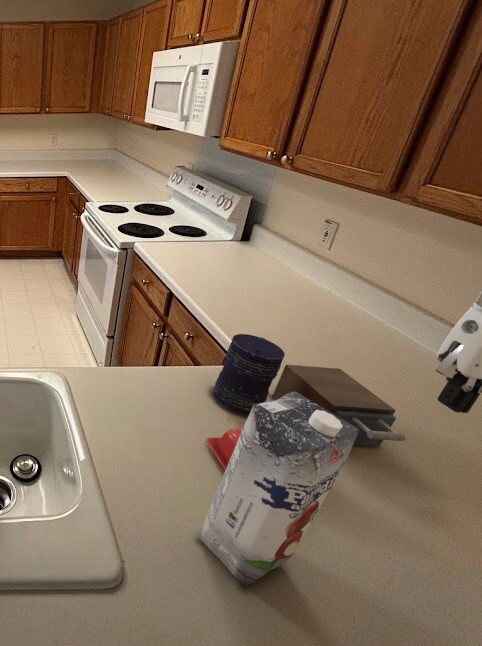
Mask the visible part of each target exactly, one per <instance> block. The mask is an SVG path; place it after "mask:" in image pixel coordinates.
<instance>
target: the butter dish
mask: <svg viewBox="0 0 482 646" xmlns="http://www.w3.org/2000/svg"><path fill="white" fill-rule="evenodd" d="M242 430H243V427H239V428H238V427H236V428H230V429H228V430H226V431H225V432H224V433H223V435H222V436H221V437H219V436H218V437H217V436H215V437H207V438H206V440H205V441H206V443H207V444H208V446H209V448H210V449H211V451H212V453H213V454H214V457H216V459H217V460H218V462H219V463H220V465H221V466H222V469H223V470H224V471H225V470H226V468H227V465H228V463H229V461H230V458H231V456H232V453H233V451H234V449H235V446H236V444H237V441H238V439H239V437H240V434H241V432H242Z"/></svg>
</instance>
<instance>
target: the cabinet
mask: <svg viewBox="0 0 482 646" xmlns="http://www.w3.org/2000/svg"><path fill="white" fill-rule="evenodd" d="M293 391H295V392H297V393H299V394H301V395H302V396H304V397H305V398H307V399H309V400H310V401H312V402H314V403H315V404H317V405H319V406H321V407H322V408H324V409H326V410H327V411H329V412H331V413H332V414H333V412H334V410H335V409H343V410H356V411H370V412H379V413H387V414H392V415H393V416H394V414H395V413H396V411H397V410H396V409H395V408H394V407H393V406H391V405H390V404H389V403H387V402H386V401H384V400H383V399H382V398H380V397H379V396H378V395H376V394H375V393H374V392H372V391H371V390H369V389H368V388H367V387H365V386H364V385H363V384H361V383H360V382H359V381H358V380H356V379H355V378H353V377H352V376H350V375H349V374H348V373H346V372H345V371H344V370H343V369H341V368H336V367H325V366H324V367H322V366H311V365H295V364H285V366H284V368H283V370H282V372H281V375H280V377H279V380H278V381H277V383H276V387H275V388H274V391H273V394H271V395H272V396H271V398H273V399H274V401H275V400H278V399H280V398H282V397H283V396H285V395H287V394H288V393H290V392H293Z"/></svg>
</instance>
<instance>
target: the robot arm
mask: <svg viewBox="0 0 482 646" xmlns="http://www.w3.org/2000/svg"><path fill="white" fill-rule="evenodd" d="M439 347H440V348H439V350H438V352H437V354H436V360H437V361H438V362H439V364H438V365H437V367H435V370H434V371H435V372H437V373H438V374H440V375H442V376H443V377H445V380H446V381H447V382H446V384H445V385H444V387H443V389H442V390H441V392H440V393H439V395H438V397H437V401H438V402H439V403H440V404H442V405H443V406H445V407H447V408H448V409H450V410H451V411H453V412H455V413H458V414H459V413H462V414H468V413H469V412H470V411H471V409H472V407H473V406H474V404H475V403H476V402H477V400H478V398H479V397H480V395H481V394H482V289H481V290H480V292H479V293H478V295H477V297H476V299H475V300H474V302H473V304H472V306H470V308H468V310H467V311H465V313H463V315H462V316H461V318H460V319H459V320H458V321H457V323H456V324H455V325H454V326H453V327H452V329H451V330H450V332H448V335H446V337H445V339H444V341H443V342H442V344H441V346H439Z"/></svg>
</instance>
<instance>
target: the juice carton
mask: <svg viewBox="0 0 482 646" xmlns="http://www.w3.org/2000/svg"><path fill="white" fill-rule="evenodd" d="M242 428H243V430H242V432H241V434H240V437H239V439H238V441H237V444H236V446H235V449H234V451H233V453H232V456H231V458H230V461H229V463H228V465H227V468H226V470H224V473H223V475H222V478H221V480H220V482H219V485H218V487H217V489H216V491H215V495H214V497H213V499H212V501H211V504H210V507H209V508H208V511H207V513H206V516H205V520H204V524H203V527H202V531H201V534H200V539H201V541H202V542H203V544H204V546H206V547H207V548H208V549H209V550H210V551H211V552H212V554H213V555H214V556H216V558H217V559H218V560H219V561H220V562H221V563H222V564H223V565H224V566H225V567H226V568H227V570H228V571H229V572H230V573H231V574H232V575H233V577H235V578H236V580H237V581H238V582H239V583H240V584H241V585H243V586H249V585H251V584H253V583H254V582H256V581H257V580H259V579H260V578H262V577H263V576H264V575H265V574H267V573H268V572H271V571H273V570H274V569H277V568H279V567H280V566H281V565H284V563H286V562H287V561H289V560H290V559H291V558H292V557H293V556H294V554H295V552H296V551H297V549H298V548H299V546H300V544H301V543H302V540H303V539H304V537H305V535H306V534H307V532H308V530H309V528H310V527H311V524H312V523H313V521H314V519H315V518H316V516H317V514H318V513H319V511H320V509H321V507H322V505H323V504H324V501H325V500H326V498H327V496H328V494H329V493H330V492H331V491H330V490H331V489H332V487H333V485H334V484H335V481H336V480H337V478H338V476H339V475H340V473H341V471H342V469H343V467H344V465H345V463H346V462H347V459H348V457H349V455H350V453H351V450H352V448H353V446H354V444H353V443H354V441H355V439H356V437H357V434H358V432H359V429H357V428H356V427H355V426H353V425H351V424H349V423H348V422H346V421H344V420H342V419H341V418H339V417H337V416H336V415H334V414H332V413H331V412H329V411H327V410H326V409H324V408H322V407H321V406H319V405H317V404H315V403H314V402H312V401H310V400H309V399H307V398H305V397H304V396H302V395H301V394H299V393H297V392H295V391H293V392H290V393H288V394H287V395H285V396H283V397H282V398H280V399H278V400H275V399H274V400H270V401H266V402H263V403H258V404H255V405H253V407H252V410H251V412H250V414H249V417H248V416H247V419H246V421H245V423H244V425H243V427H242Z"/></svg>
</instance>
